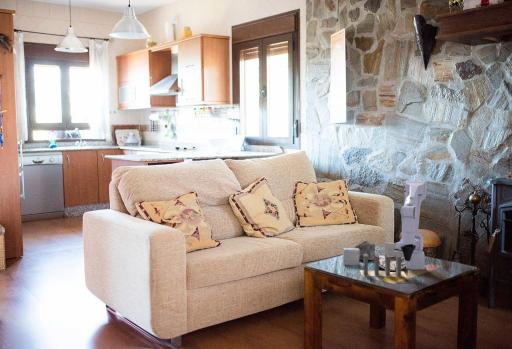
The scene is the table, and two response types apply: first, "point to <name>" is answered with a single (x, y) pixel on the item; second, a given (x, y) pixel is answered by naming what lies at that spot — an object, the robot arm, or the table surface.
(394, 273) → the board
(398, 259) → the loose domino
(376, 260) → the domino
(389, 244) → the cassette
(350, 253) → the medicine box
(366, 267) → the end domino
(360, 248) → the mineral rock
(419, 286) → the table surface
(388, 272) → the domino
